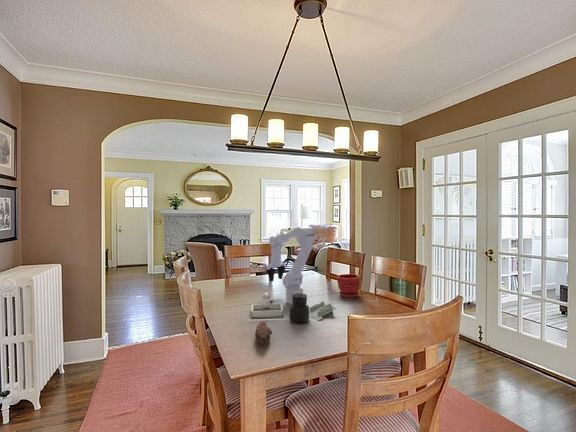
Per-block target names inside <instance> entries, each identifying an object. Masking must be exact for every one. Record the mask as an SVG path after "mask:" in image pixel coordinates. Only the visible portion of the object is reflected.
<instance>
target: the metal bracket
mask: <svg viewBox="0 0 576 432" xmlns="http://www.w3.org/2000/svg"><path fill="white" fill-rule="evenodd" d="M334 310H337V308H336V307H334V306H333V305H332V304H331V302H330V303H326V302H324V301H323V300H322V301H321V302H320V303H317V304H314V305H312V306H311V307H310V306H309V318H310V317H311V318H312V319H313V320H315V319H316V320H315V321H317V322H319V321H321V320H323V319H324V316H326V315H327V314H329V313H331V312H332V314H334Z"/></svg>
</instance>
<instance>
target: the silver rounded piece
mask: <svg viewBox="0 0 576 432" xmlns="http://www.w3.org/2000/svg"><path fill="white" fill-rule="evenodd" d="M261 297H262V301H263V308H262V309H261V311H272V309H271V308H270V300H271V292H262V294H261Z"/></svg>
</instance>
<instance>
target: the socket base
mask: <svg viewBox="0 0 576 432" xmlns="http://www.w3.org/2000/svg"><path fill="white" fill-rule="evenodd" d="M274 303H275V302H274V300H273V299H272V300H271V299H270V304H274ZM259 304H263V300H260V302H259Z"/></svg>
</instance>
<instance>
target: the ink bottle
mask: <svg viewBox="0 0 576 432" xmlns="http://www.w3.org/2000/svg"><path fill="white" fill-rule="evenodd" d="M307 302H308V295H307V294H305V293H303V294H302V293H296V294H293V295H292V303H293V304H291V305H290V307H289V322H290V323H292V324H297V325H302V324H303V325H304V324H307V323H309V321H310V313H309V310H310V306H309V305H308V303H307Z"/></svg>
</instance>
